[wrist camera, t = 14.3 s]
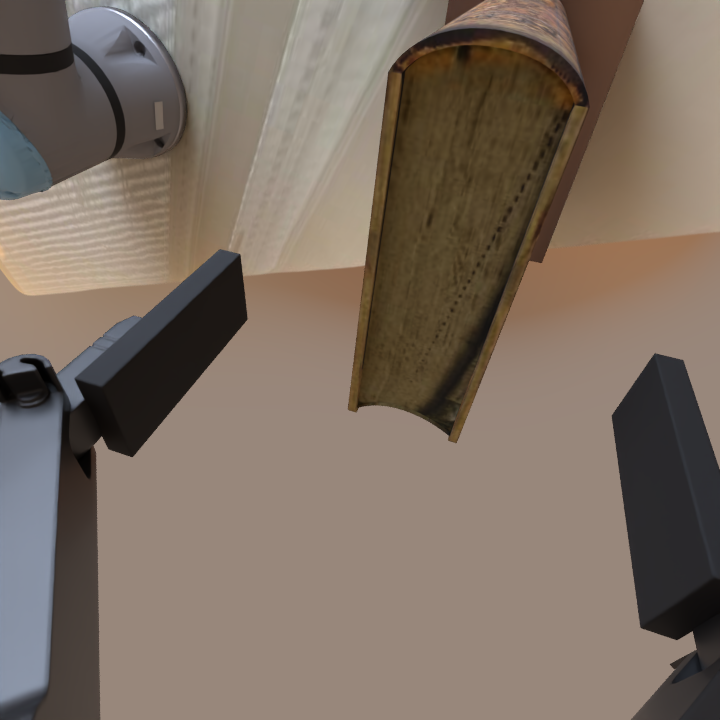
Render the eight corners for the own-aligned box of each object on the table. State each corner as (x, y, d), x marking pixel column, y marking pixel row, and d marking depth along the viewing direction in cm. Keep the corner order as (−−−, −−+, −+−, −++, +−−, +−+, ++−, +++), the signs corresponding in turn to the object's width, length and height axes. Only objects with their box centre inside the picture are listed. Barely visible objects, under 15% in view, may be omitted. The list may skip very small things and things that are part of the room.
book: (488, -21, 30) (394, 13, 12) (575, -8, 29) (613, 48, 11) (435, 217, 41) (346, 418, 23) (497, 231, 40) (453, 451, 22)
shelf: (434, 188, 51) (410, 235, 43) (478, -50, 38) (457, -52, 29) (543, 210, 49) (541, 263, 41) (631, -34, 36) (656, -32, 27)
